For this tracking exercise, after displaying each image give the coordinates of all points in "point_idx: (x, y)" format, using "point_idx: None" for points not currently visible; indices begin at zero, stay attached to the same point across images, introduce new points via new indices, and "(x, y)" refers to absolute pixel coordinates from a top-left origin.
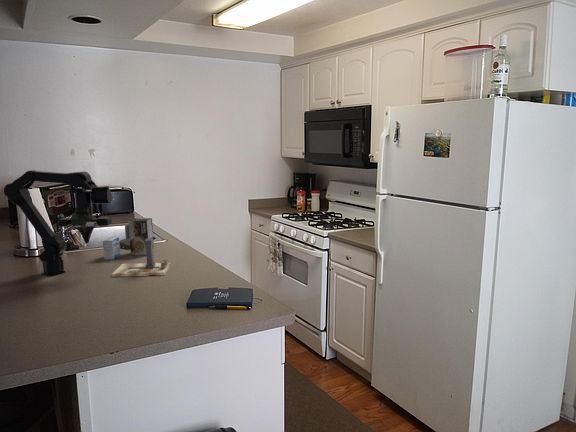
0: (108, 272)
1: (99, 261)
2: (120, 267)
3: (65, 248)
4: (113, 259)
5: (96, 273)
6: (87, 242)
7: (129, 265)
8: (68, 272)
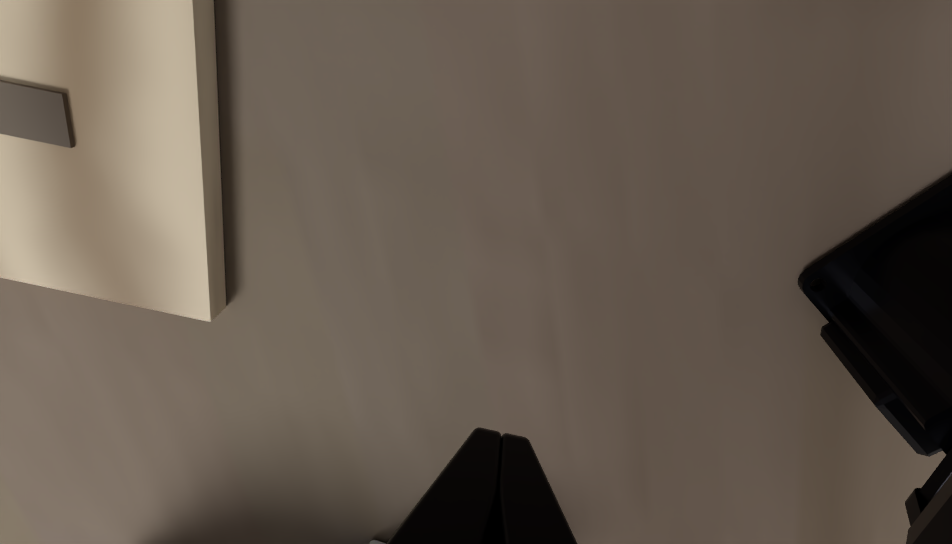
0: (312, 133)
1: None
2: (181, 187)
3: (924, 537)
4: (375, 540)
5: (440, 131)
6: (474, 436)
7: (111, 239)
8: (761, 269)
